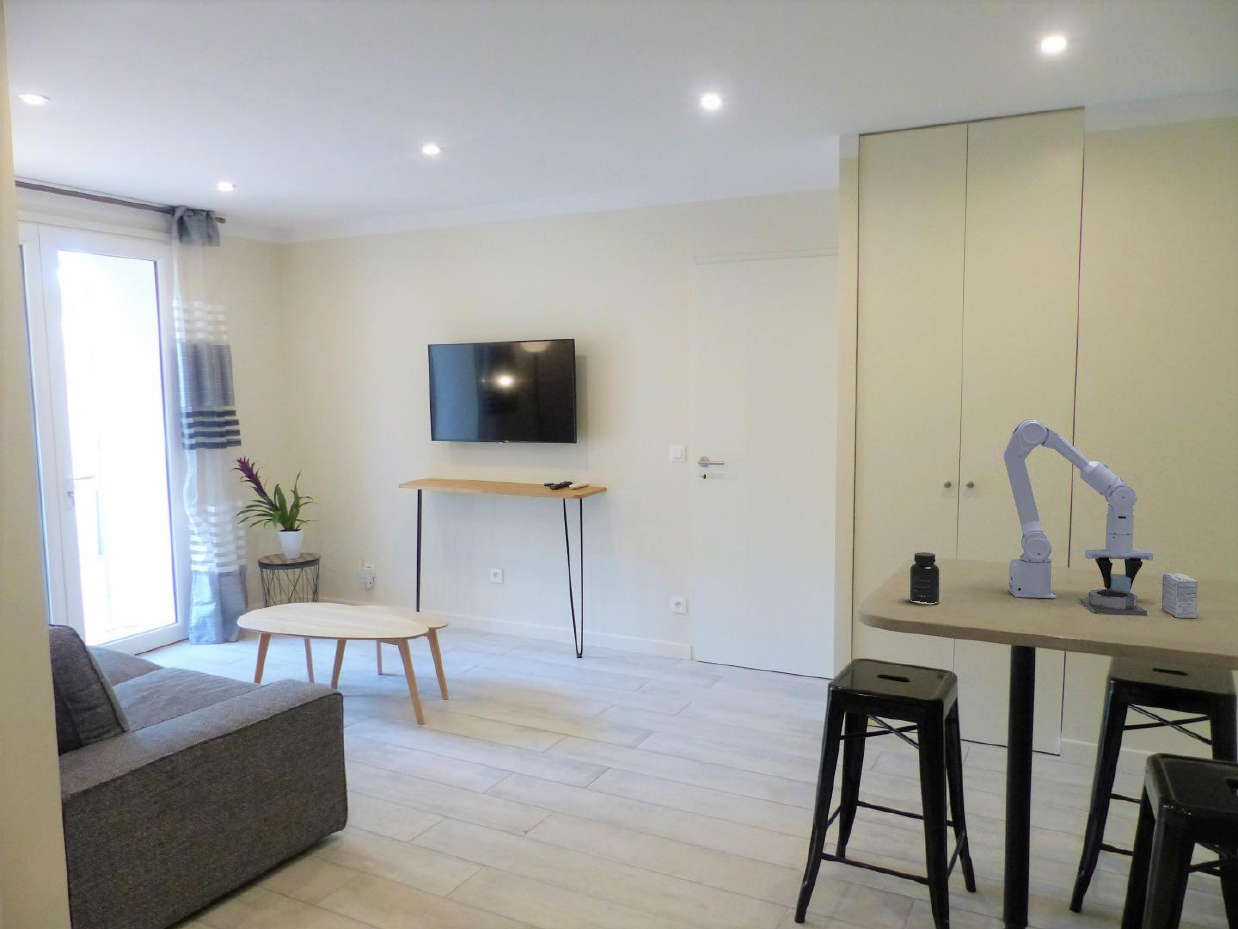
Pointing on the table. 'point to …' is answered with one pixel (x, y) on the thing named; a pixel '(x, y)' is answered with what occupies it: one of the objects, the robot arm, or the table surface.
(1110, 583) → the robot arm
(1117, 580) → the pale blue block
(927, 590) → the supplement bottle
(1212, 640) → the table surface
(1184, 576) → the medicine box
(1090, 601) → the square plate with ring
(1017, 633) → the table surface
